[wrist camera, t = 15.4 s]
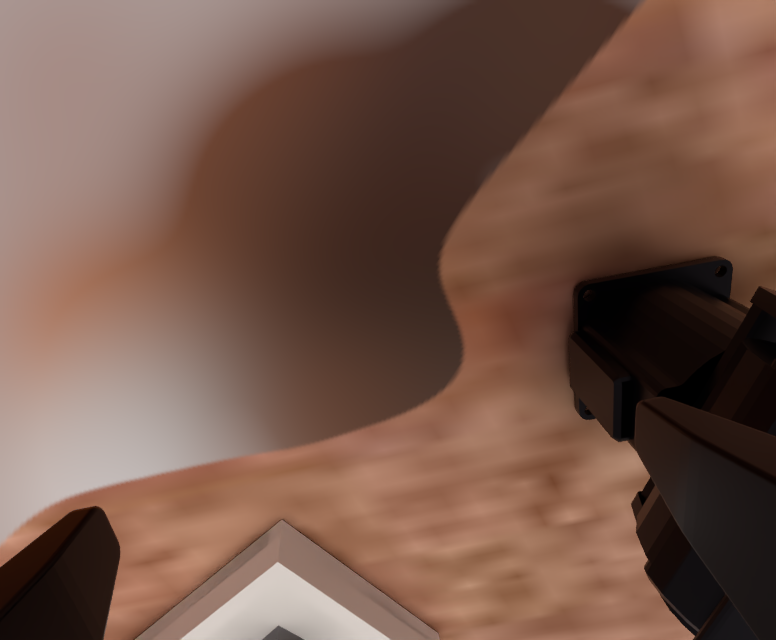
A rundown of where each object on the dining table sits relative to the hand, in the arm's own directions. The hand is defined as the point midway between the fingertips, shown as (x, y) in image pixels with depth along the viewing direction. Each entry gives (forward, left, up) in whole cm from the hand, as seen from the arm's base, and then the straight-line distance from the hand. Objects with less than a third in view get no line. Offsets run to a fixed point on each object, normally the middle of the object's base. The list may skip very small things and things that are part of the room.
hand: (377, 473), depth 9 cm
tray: (+7, +20, -13) cm, 25 cm away
